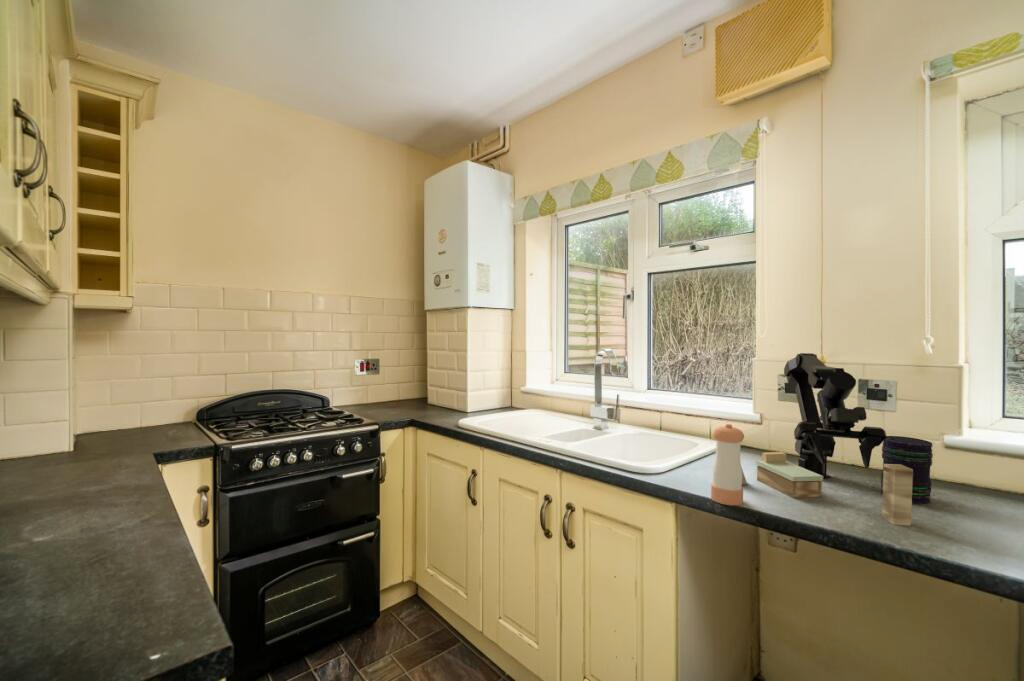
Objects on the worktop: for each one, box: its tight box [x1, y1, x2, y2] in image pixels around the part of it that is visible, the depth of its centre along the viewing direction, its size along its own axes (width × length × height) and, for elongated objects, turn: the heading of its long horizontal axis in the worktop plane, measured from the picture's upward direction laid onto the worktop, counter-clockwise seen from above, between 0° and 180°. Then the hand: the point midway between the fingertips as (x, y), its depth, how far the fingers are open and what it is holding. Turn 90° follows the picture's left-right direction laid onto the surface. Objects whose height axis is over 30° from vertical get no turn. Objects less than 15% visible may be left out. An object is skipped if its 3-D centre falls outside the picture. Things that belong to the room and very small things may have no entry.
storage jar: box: [880, 435, 933, 506], centre depth 117 cm, size 10×10×15 cm
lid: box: [755, 451, 824, 482], centre depth 123 cm, size 8×14×4 cm, turn 7°
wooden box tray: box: [756, 465, 823, 499], centre depth 123 cm, size 8×14×4 cm, turn 7°
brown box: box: [881, 464, 913, 526], centre depth 102 cm, size 4×4×12 cm
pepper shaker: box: [710, 423, 745, 506], centre depth 113 cm, size 7×7×19 cm
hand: (845, 465), depth 112 cm, fingers open, 9 cm apart
